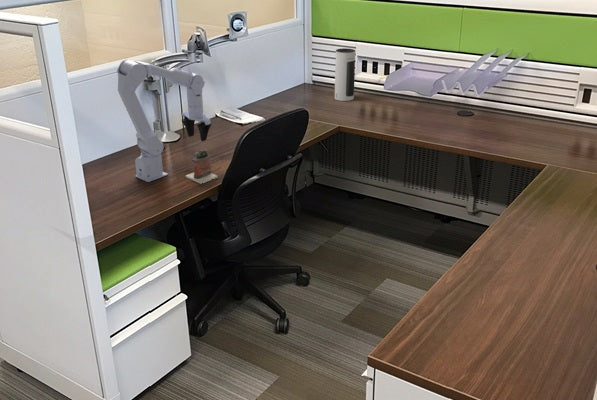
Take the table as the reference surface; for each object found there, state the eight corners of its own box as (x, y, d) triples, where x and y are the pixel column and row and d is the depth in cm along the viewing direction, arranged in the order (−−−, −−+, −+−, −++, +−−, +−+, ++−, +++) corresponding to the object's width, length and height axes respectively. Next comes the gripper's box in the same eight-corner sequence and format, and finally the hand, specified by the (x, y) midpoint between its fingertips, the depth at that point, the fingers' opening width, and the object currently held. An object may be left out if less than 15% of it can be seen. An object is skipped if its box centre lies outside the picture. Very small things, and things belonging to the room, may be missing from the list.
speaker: (340, 102, 326) (342, 52, 315) (330, 97, 334) (331, 48, 323) (357, 99, 331) (359, 50, 320) (346, 94, 339) (348, 46, 328)
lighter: (207, 171, 240) (205, 146, 236) (213, 173, 238) (212, 148, 234) (191, 177, 234) (189, 152, 230) (198, 179, 232) (196, 154, 228)
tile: (201, 183, 231) (201, 181, 230) (185, 177, 236) (185, 175, 236) (217, 177, 236) (217, 175, 236) (201, 171, 242) (201, 169, 241)
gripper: (215, 106, 238) (217, 139, 243) (191, 98, 246) (193, 131, 252) (201, 110, 233) (203, 144, 239) (176, 102, 241) (179, 135, 247)
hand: (197, 138), depth 245 cm, fingers open, 7 cm apart
